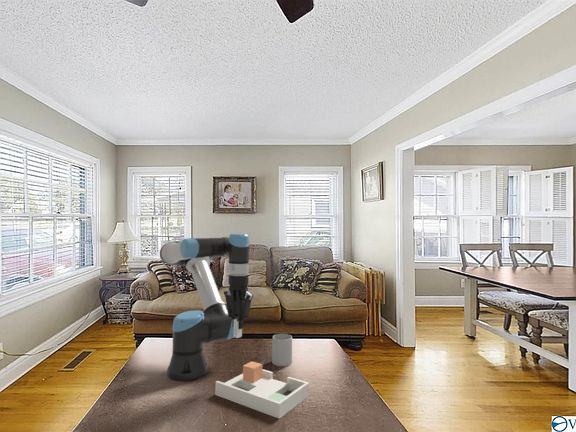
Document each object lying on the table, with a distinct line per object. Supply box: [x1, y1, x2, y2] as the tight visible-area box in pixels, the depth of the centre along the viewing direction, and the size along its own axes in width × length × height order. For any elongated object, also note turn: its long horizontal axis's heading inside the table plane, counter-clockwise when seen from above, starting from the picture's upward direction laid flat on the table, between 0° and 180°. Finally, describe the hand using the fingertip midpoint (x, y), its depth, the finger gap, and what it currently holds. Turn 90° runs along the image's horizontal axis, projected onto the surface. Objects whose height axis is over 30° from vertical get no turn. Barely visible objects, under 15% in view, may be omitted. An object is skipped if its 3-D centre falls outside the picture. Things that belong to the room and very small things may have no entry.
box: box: [214, 368, 310, 419], centre depth 127 cm, size 27×18×4 cm, turn 57°
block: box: [242, 360, 263, 383], centre depth 135 cm, size 5×5×5 cm
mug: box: [271, 333, 293, 367], centre depth 159 cm, size 12×8×11 cm
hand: (237, 336), depth 139 cm, fingers closed
